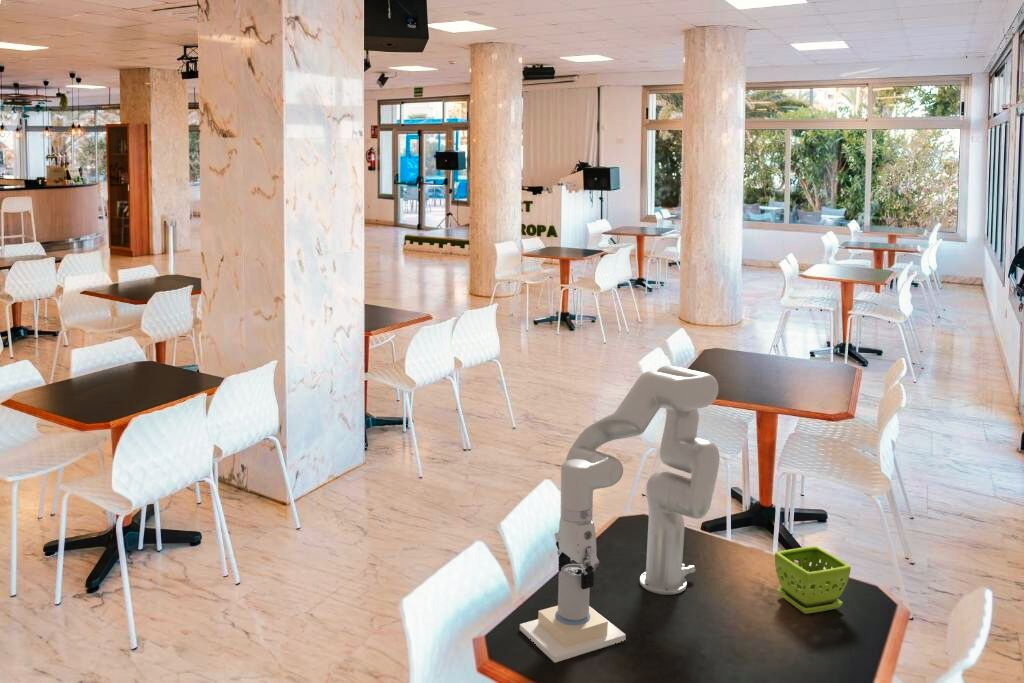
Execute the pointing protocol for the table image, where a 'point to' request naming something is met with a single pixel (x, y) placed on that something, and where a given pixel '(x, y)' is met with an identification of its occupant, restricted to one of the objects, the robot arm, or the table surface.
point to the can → (572, 594)
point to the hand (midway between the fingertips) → (575, 578)
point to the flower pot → (811, 578)
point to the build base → (572, 650)
